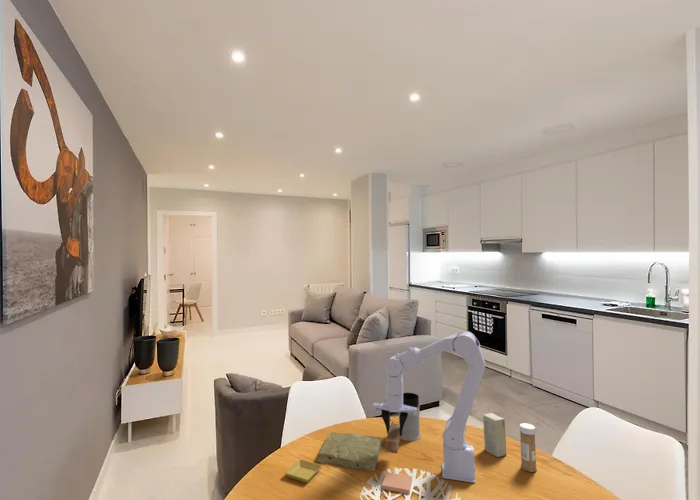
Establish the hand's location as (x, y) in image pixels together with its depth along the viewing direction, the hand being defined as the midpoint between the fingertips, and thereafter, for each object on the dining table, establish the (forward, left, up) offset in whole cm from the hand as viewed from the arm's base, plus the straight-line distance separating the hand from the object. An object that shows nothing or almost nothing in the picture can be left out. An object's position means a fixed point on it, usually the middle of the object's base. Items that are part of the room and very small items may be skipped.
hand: (394, 434), depth 116 cm
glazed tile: (-3, +10, -8) cm, 13 cm away
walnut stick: (0, +2, -2) cm, 3 cm away
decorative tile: (+16, 0, -9) cm, 18 cm away
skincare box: (-33, -14, -9) cm, 37 cm away
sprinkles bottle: (-42, -6, -9) cm, 44 cm away
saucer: (+27, +16, -9) cm, 32 cm away
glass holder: (0, -18, -9) cm, 20 cm away
